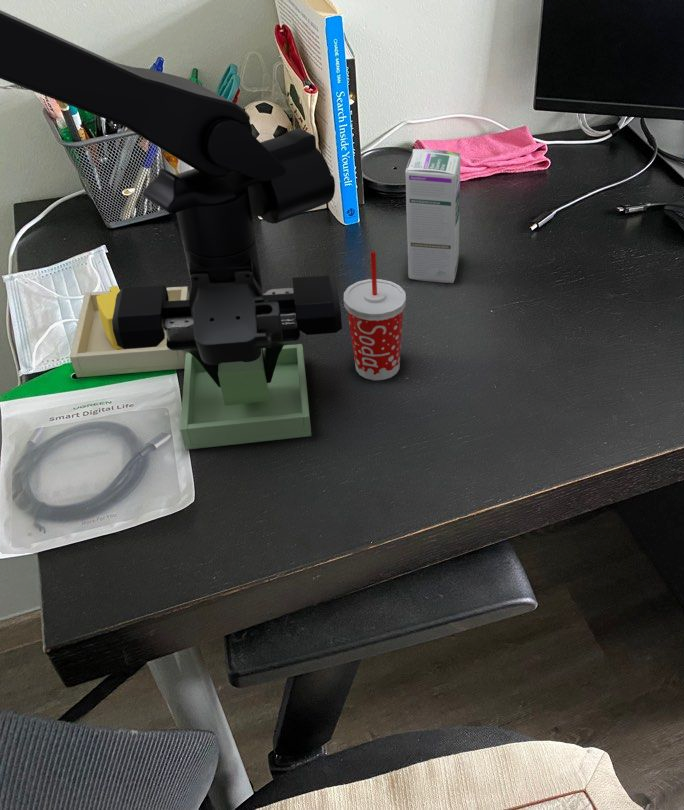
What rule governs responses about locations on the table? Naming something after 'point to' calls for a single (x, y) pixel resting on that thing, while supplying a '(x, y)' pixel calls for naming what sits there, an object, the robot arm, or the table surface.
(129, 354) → the cream tray
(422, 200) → the syrup box
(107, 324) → the yellow linking cube
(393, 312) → the beverage cup
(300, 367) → the green tray
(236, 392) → the green cube
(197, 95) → the robot arm
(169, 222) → the table surface
